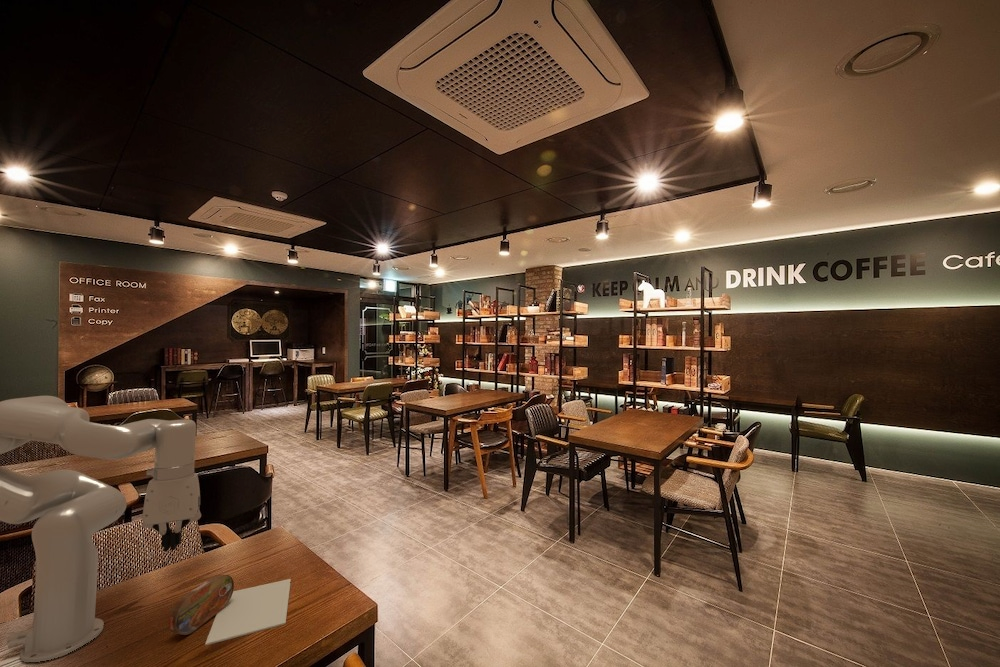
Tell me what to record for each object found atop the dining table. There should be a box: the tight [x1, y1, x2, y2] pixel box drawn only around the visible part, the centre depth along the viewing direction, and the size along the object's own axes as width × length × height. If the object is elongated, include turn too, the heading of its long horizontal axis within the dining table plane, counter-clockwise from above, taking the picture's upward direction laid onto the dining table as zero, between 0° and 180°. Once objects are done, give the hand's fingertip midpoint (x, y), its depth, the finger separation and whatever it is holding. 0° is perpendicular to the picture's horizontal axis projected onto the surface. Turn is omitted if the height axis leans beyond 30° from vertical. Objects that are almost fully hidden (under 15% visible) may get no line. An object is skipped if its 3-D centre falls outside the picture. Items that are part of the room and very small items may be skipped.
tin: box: [168, 574, 235, 636], centre depth 95 cm, size 15×3×8 cm, turn 168°
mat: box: [205, 578, 292, 646], centre depth 99 cm, size 16×20×1 cm
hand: (171, 548), depth 93 cm, fingers closed
